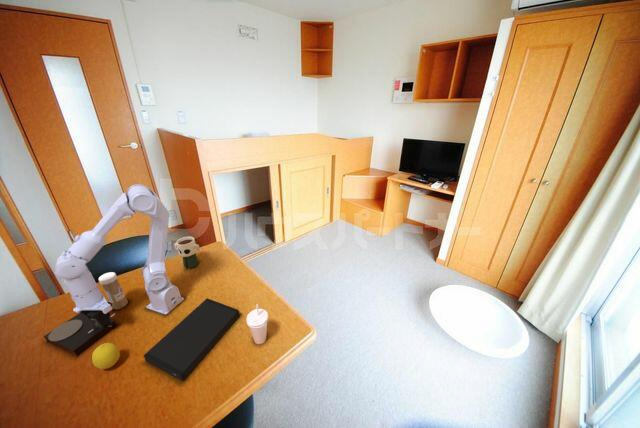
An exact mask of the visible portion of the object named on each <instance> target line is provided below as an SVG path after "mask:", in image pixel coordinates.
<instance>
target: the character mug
mask: <svg viewBox="0 0 640 428" xmlns="http://www.w3.org/2000/svg"><path fill="white" fill-rule="evenodd" d="M173 246H174V249H175V251H177V252H178V255H179V256H180V257H182V265H183V268H185V269H187V267H188V269H193V268H195V267H197V266H198V265H199V263H200V260H199V258H198V255H197V254H196V253H197V252H199V251H200V250H201V249H200V245H199V244H196V240H195V238H194V237H193V236H184V237H180V238H179V239H177V240H176V242H175V243H174V245H173Z"/></svg>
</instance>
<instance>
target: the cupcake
mask: <svg viewBox="0 0 640 428" xmlns="http://www.w3.org/2000/svg"><path fill="white" fill-rule="evenodd" d="M91 320H92V322H93V324H94V326H95V327H96V328H100V327H103V326H101V325H100V324H99V323H98V322H97V321H96V320H95V319H94V318H92V317H91Z"/></svg>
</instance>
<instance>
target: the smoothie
mask: <svg viewBox="0 0 640 428" xmlns="http://www.w3.org/2000/svg"><path fill="white" fill-rule="evenodd" d="M245 321H246V324H247V326H248V328H249V330H250V333H251V335H252V338H253V341H254V343H255V344H257V345H262V344H264V343H265V342H266V340H267V333H268V321H269V313H268V311H267V310H265V309H263V308H259V304H258V303H255V309H253V310H250V312H249V313H248V314H247V316H246V319H245Z"/></svg>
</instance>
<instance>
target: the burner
mask: <svg viewBox="0 0 640 428" xmlns="http://www.w3.org/2000/svg"><path fill="white" fill-rule="evenodd" d="M67 321H68V320H67ZM67 321H65V322H63V323H61V324H60V325H58V326H56V327H55V328H54V329H52V330H53V331H52V330H51V331H52V332H51V331H50V332H51V333H50V334H49V336H48V339H49V340H50V341H52V342H56V341H61V340H64V339H66V338H68V337H70V336H72V335H73V334H75V333H76V332H77V331H79V330H80V328H81V327H82V325H83V323H82V321H81V320H71V321H68V322H67Z"/></svg>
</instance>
